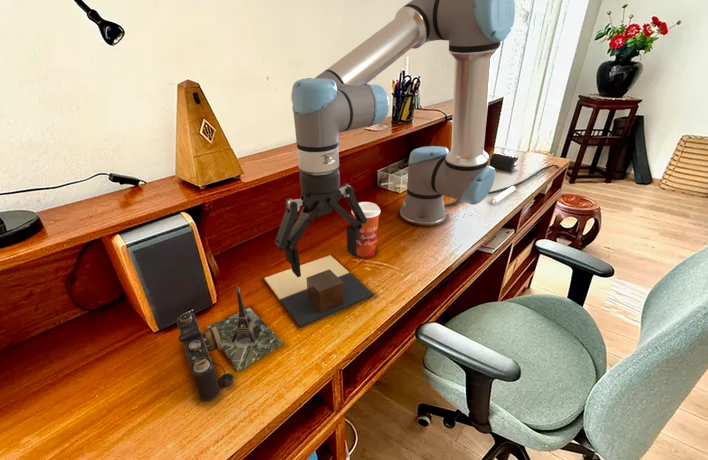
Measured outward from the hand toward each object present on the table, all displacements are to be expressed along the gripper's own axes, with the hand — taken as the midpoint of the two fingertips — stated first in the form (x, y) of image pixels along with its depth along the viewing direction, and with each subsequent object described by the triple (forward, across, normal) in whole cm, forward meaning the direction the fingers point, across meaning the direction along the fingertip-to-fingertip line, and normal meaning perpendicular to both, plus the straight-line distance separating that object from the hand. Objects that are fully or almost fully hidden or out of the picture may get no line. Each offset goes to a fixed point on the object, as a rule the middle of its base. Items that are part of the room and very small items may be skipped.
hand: (325, 263), depth 78 cm
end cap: (+13, +110, +36) cm, 117 cm away
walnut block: (+10, -1, 0) cm, 10 cm away
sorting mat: (+11, 0, +6) cm, 13 cm away
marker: (+12, +84, +16) cm, 86 cm away
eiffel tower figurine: (+11, -20, 0) cm, 22 cm away
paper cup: (+11, +20, +13) cm, 26 cm away
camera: (+11, -28, -3) cm, 30 cm away
